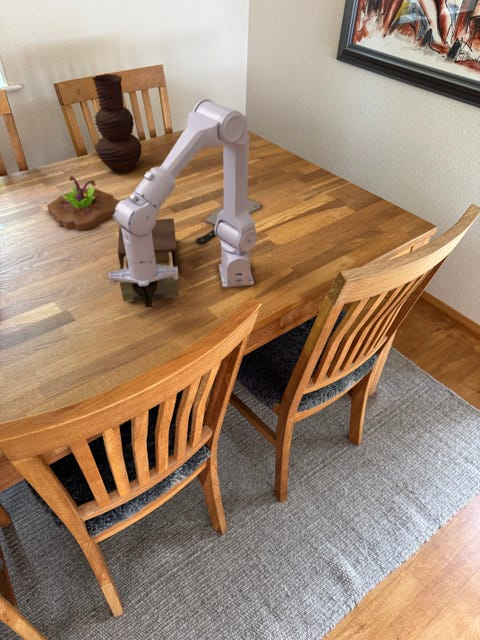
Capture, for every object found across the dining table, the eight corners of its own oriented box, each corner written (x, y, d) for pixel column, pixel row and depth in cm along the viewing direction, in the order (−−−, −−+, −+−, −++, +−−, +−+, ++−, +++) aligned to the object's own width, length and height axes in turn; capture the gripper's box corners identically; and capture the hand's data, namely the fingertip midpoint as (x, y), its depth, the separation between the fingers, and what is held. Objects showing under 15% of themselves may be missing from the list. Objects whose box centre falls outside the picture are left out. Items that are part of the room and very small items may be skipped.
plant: (90, 189, 154) (83, 156, 146) (129, 209, 145) (123, 175, 137) (38, 213, 142) (26, 179, 135) (76, 236, 134) (67, 201, 126)
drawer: (180, 311, 109) (178, 293, 105) (122, 317, 108) (118, 298, 104) (175, 263, 123) (173, 245, 119) (124, 267, 122) (121, 249, 118)
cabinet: (179, 272, 122) (176, 248, 117) (122, 277, 120) (117, 253, 115) (175, 241, 132) (173, 218, 127) (124, 245, 130) (119, 222, 125)
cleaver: (177, 234, 135) (203, 246, 130) (177, 232, 134) (203, 244, 130) (238, 196, 152) (263, 205, 147) (238, 194, 151) (263, 204, 147)
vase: (92, 175, 161) (71, 82, 141) (113, 157, 172) (97, 68, 151) (132, 181, 158) (117, 88, 137) (151, 162, 169) (140, 73, 148)
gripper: (103, 269, 91) (115, 319, 101) (176, 263, 93) (181, 313, 102) (105, 249, 97) (116, 298, 106) (175, 244, 98) (180, 293, 108)
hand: (148, 304), depth 105 cm, fingers closed
